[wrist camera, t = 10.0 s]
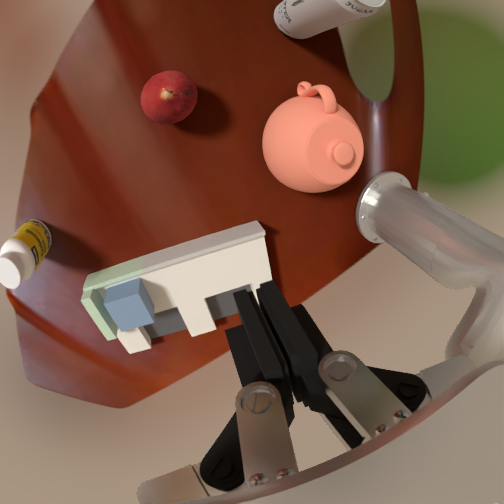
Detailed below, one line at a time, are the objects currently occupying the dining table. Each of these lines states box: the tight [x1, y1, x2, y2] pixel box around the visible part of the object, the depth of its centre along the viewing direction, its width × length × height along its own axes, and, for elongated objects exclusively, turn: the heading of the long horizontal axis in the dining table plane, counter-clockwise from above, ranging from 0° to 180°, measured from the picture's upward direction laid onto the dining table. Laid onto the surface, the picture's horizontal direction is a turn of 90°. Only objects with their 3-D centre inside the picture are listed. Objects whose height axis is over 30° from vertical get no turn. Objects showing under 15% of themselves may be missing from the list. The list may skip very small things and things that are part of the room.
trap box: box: [81, 220, 272, 354], centre depth 37 cm, size 25×14×6 cm, turn 101°
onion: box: [141, 70, 198, 124], centre depth 24 cm, size 6×6×8 cm
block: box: [104, 278, 154, 332], centre depth 33 cm, size 5×5×4 cm
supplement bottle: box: [0, 219, 51, 289], centre depth 25 cm, size 5×5×10 cm
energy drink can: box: [274, 0, 386, 39], centre depth 19 cm, size 6×6×15 cm
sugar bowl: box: [262, 81, 364, 193], centre depth 29 cm, size 12×14×10 cm
